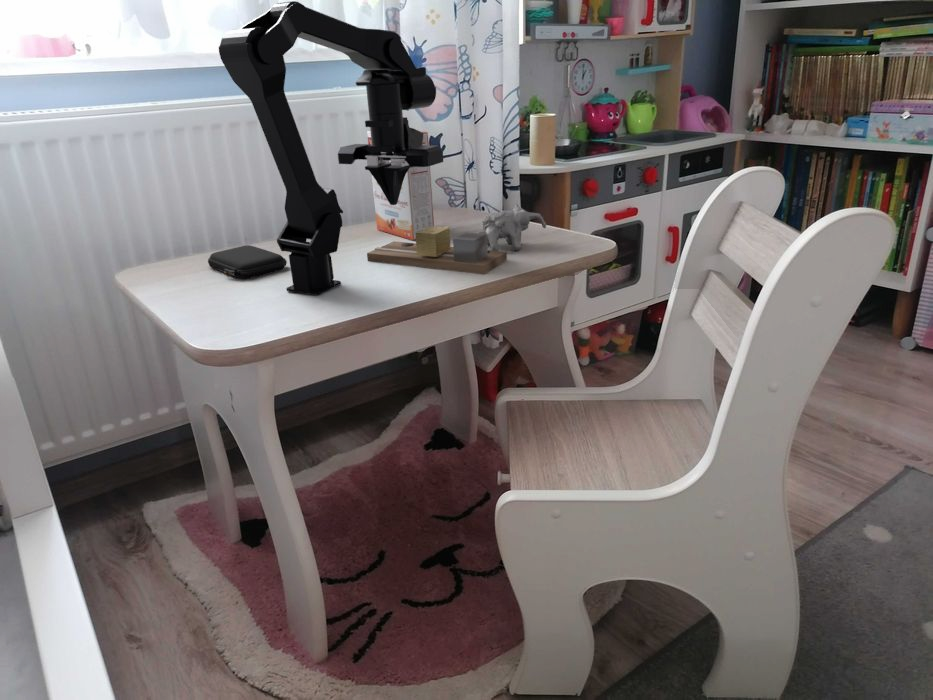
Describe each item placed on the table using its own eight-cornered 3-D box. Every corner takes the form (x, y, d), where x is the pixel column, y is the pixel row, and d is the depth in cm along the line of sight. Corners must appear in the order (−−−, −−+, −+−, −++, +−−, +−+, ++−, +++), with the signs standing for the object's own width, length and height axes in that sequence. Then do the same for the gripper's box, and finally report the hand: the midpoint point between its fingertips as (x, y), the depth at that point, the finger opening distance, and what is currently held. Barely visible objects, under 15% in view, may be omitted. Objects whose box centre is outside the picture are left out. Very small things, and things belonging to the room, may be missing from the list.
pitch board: (484, 274, 117) (483, 242, 114) (367, 261, 127) (364, 231, 125) (506, 260, 124) (506, 229, 122) (394, 248, 135) (392, 220, 132)
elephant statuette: (474, 248, 134) (471, 209, 131) (526, 235, 139) (524, 197, 135) (499, 259, 126) (496, 218, 123) (553, 245, 131) (551, 205, 128)
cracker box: (375, 230, 149) (365, 129, 141) (398, 225, 153) (390, 126, 145) (411, 241, 139) (403, 133, 131) (435, 236, 143) (429, 130, 134)
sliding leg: (436, 257, 120) (435, 234, 119) (417, 255, 122) (415, 232, 121) (457, 246, 126) (456, 224, 125) (438, 244, 128) (436, 223, 127)
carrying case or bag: (199, 270, 128) (237, 285, 118) (196, 254, 127) (234, 268, 117) (252, 257, 135) (292, 270, 125) (249, 241, 134) (289, 254, 124)
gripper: (456, 108, 120) (461, 198, 126) (368, 108, 128) (377, 193, 134) (422, 114, 111) (429, 211, 117) (330, 114, 119) (341, 205, 126)
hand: (393, 204), depth 124 cm, fingers closed
